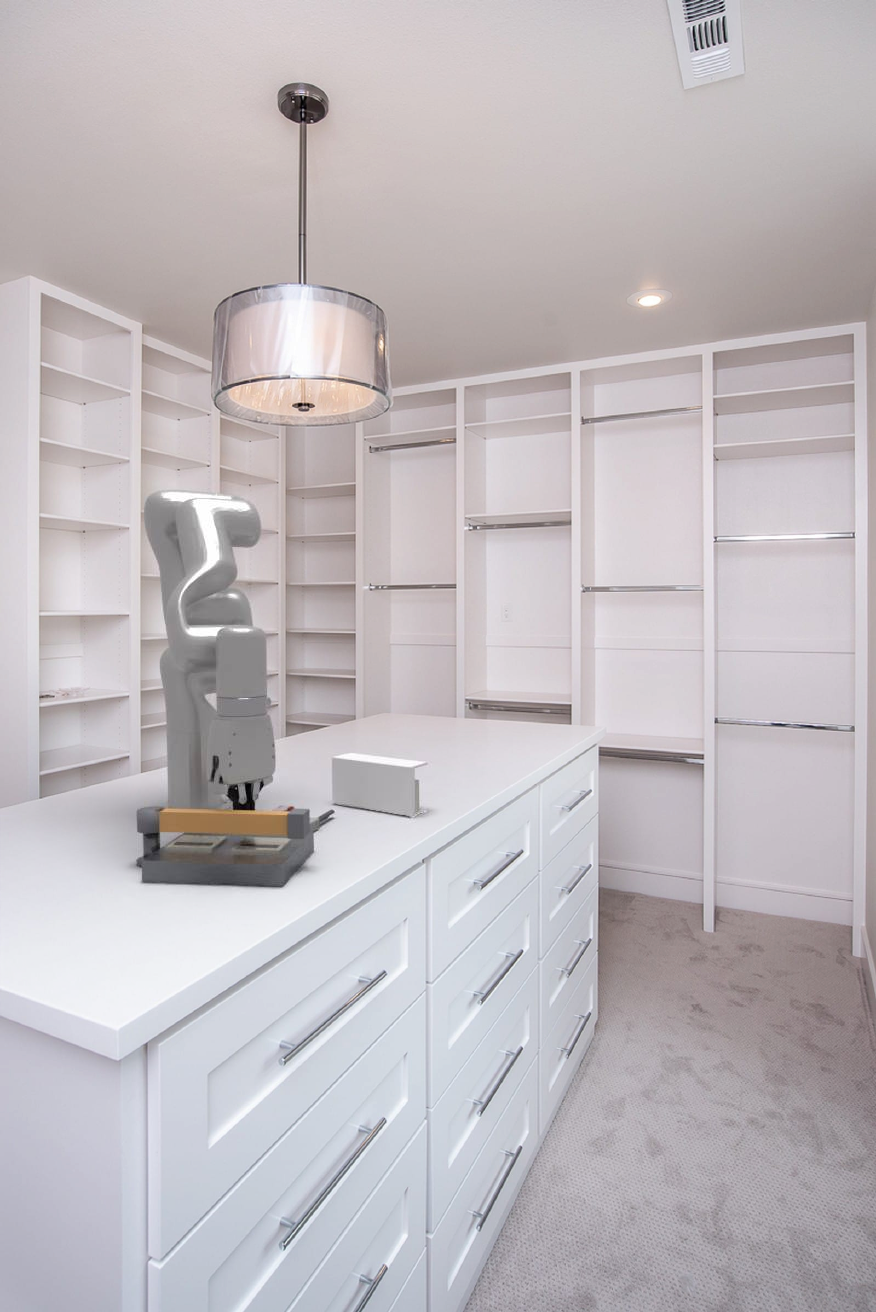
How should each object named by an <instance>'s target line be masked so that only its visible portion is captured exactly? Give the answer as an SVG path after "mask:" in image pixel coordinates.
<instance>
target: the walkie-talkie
mask: <svg viewBox="0 0 876 1312" xmlns="http://www.w3.org/2000/svg"><path fill="white" fill-rule="evenodd" d="M293 809H296V808H295V806H293V805H279V806H278V807H275V808H273V809H271V810H270V811H291V810H293ZM333 814H335V810H334V809H330V810H328V811H326V812H324V813H323V814H321V815H320V816H318V817H311V816H310V832H315V831H318V830H320V824H321V823H322V822H324V821H326V820H327V819H328V818H330V816H332V815H333Z"/></svg>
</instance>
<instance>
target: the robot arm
mask: <svg viewBox="0 0 876 1312" xmlns="http://www.w3.org/2000/svg"><path fill="white" fill-rule="evenodd" d="M143 519H144V520H143V521H144V527H145V528H144V529H145V532H146V536H147V539H148V542H149V545H150V547H151V550H152V552H153V554H154V557H155V559H156V562H157V564H158V568H159V569H158V571H159V578H160V590H161V602H162V612H163V619H164V625H165V630H166V636H167V637H166V638H167V643H168V648H166V649H165V650H164V651H163V652H162V653H161V655H160V659H159V672H160V678H161V684H162V690H163V694H164V696H163V697H164V703H165V720H166V727H165V728H166V760H167V761H166V765H167V766H166V767H167V768H166V769H167V772H166V773H167V803H165V804H162V805H161V806H160V807H164V808H171V809H211V810H231V804H230V803H231V802H232V810H251V811H256V802H257V801H258V800H259V798H260V797H259V796H260V793H261V791H262V790H263V788H264V787H266V786H268V785H269V784H271V783H272V782H273V781H274V777H273V775H274V774H275V771H276V766H277V765H276V762H277V761H276V760H277V758H276V757H277V756H276V743H275V735H274V734H275V733H274V728H273V722H272V718H271V715H270V714H268V707H269V706H271V704H272V699H271V698H270V697H269V696H268V672H267V671H268V669H267V666H268V664H267V661H268V659H267V658H268V657H267V655H268V654H267V636H266V632H265V631H264V630H263V628H262V627H261V628H260V627H258V626H254V622H253V615H252V609H251V604H250V601H249V599H248V597H247V595H246V594H245V592H243V591H242V590H240V589H238V588H234V587H230V586H231V585H233V584H234V582H235V581H236V579H237V577H238V566H237V562H236V558H235V552H234V549H233V548H252V547H255V546H256V545H257V544H258V542H259V540H260V539H261V538H260V537H261V535H262V522H261V516H260V515H259V512H258V510H257V508H256V506H255V505H254V504H253V503H252V502H251V501H250V500H248V499H245V498H243V497H240V496H238V495H236V494H231V493H221V492H219V493H218V492H205V491H197V490H184V489H183V490H182V489H163V490H159V491H155V492H152V493H151V494H149V495H148V496H147V498H146V499H145V502H144V507H143ZM210 694H215V695H216V708H215V707H214V706H213V704H212V703H210V702H209V700H208V699H207V698H206V696H207V695H210ZM222 795H224V796H226V797H227V798H228V800H226V799H224V798H222Z"/></svg>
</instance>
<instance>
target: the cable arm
mask: <svg viewBox="0 0 876 1312" xmlns="http://www.w3.org/2000/svg"><path fill="white" fill-rule="evenodd" d="M310 817H311V815H310V808H295V809H293V810H291V811H271V810H255V811H251V810H233V809H230V810H211V809H171V808H164V807H161V806H154V805H153V806H146V807H142V808H141V807H140V808H139V809H138V808H137V810H136V831H137V833H139V834H143V833H157V832H160V833H181V834H183V833H217V834H252V835H287V839H305V837H306V836H307V835H308V834H309V833H310Z"/></svg>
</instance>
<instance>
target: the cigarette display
mask: <svg viewBox="0 0 876 1312" xmlns="http://www.w3.org/2000/svg"><path fill="white" fill-rule="evenodd" d="M427 765H428V762H427V761H420V760H413V759H412V760H411V759H403V758H396V757H395V758H394V757H388V756H387V757H386V756H377V755H372V754H371V755H370V754H365V753H364V754H363V753H355V752H354V753H353V752H349V753H343V754H339V755H336V756H332V757H331V775H332V776H331V782H332V783H331V787H332V788H331V791H332V793H331V794H332V795H331V796H332V801H331V802H332V805H338V806H342V807H348V806H350V808H354V807H358V808H357V809H360V808H366V809H372V810H378V811H384V812H390V813H396V814H401V815H407V816H410V817H413V816H415V814H418V813H421V812H424V811H427V810H428V809H427V808H425V809H424V808H420V780H419V779H416V778H415V777H416V776H415V775H416V771H415V770H416V769H417V768H420V767H425V766H427ZM366 809H365V810H366ZM372 810H371V811H372ZM378 811H377V812H378ZM427 812H428V811H427ZM401 815H400V816H401ZM407 816H406V817H407ZM410 817H409V818H410ZM415 817H416V816H415Z"/></svg>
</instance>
